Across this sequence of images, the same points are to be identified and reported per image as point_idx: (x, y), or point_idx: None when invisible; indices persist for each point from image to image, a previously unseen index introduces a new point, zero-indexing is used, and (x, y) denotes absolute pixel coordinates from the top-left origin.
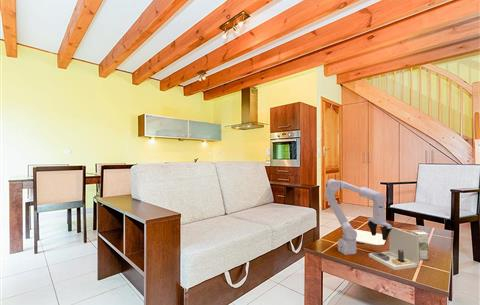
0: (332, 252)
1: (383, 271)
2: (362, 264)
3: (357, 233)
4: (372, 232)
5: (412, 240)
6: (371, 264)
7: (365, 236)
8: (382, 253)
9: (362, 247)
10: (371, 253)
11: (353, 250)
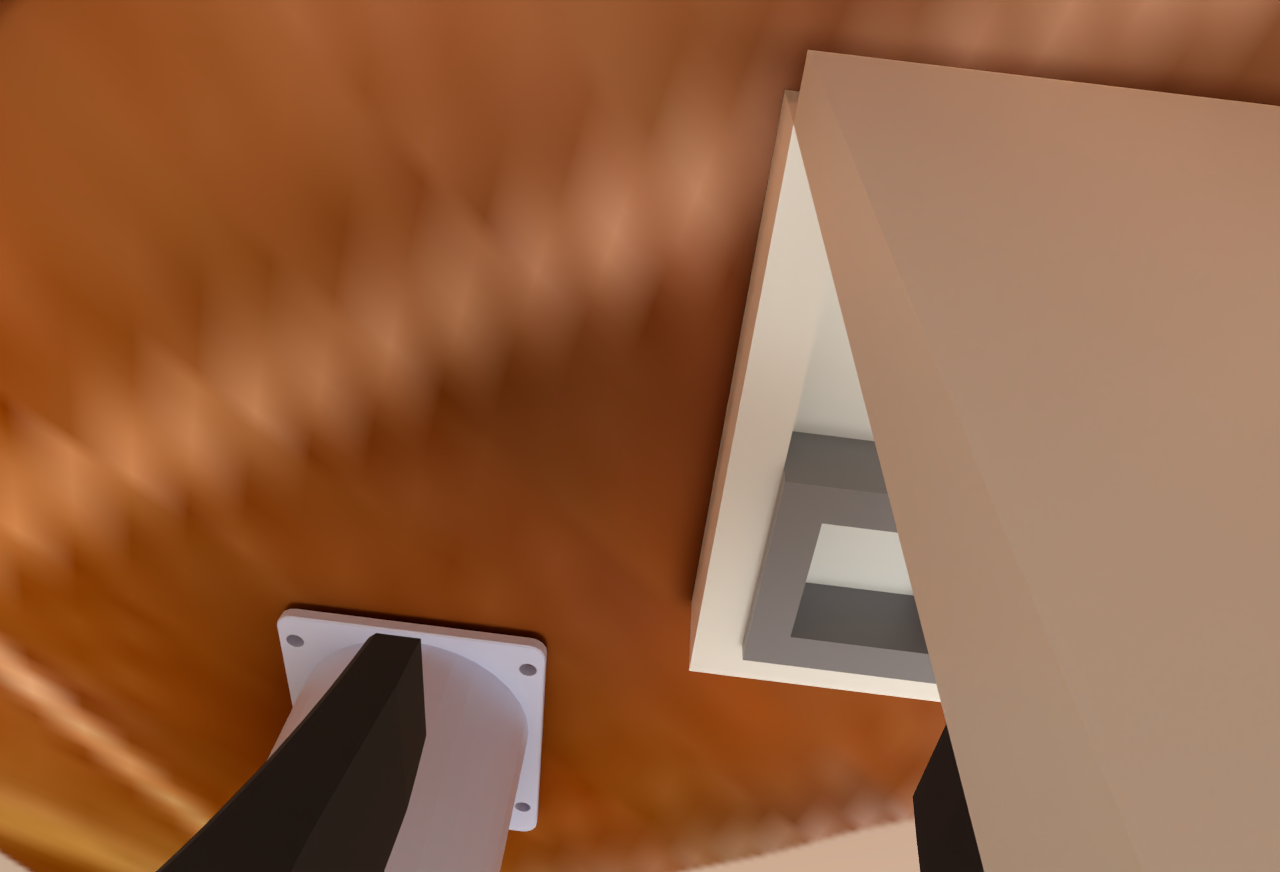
0: None
1: None
2: (816, 809)
3: None
4: (382, 858)
5: None
6: (881, 728)
7: None
8: (846, 496)
9: (153, 283)
10: (706, 630)
11: (511, 806)
